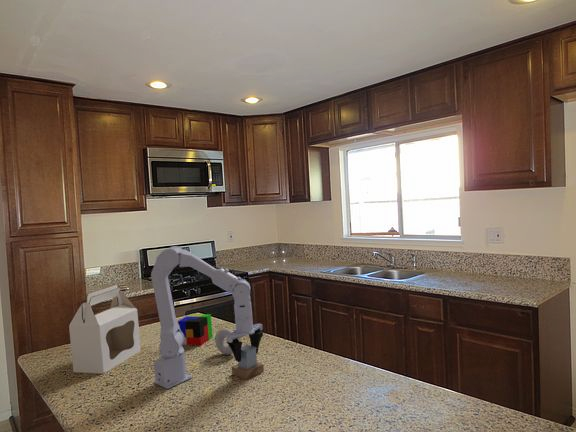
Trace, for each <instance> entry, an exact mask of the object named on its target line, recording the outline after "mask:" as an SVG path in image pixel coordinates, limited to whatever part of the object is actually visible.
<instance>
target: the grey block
mask: <svg viewBox="0 0 576 432" xmlns="http://www.w3.org/2000/svg"><path fill="white" fill-rule="evenodd" d="M256 349H257V347H254V346H251V344H244V345H242V347H241V361H240V362H238V361H237V364H238V367H241V368H244V369H247V370H248V369H250V368H252V367H254V366H256V365H257V362H258V359H257V358H258V357H257V354H256Z"/></svg>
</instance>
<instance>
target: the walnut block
mask: <svg viewBox="0 0 576 432" xmlns="http://www.w3.org/2000/svg"><path fill="white" fill-rule="evenodd" d="M264 371H265V370H264V364H263V363H261V362H259V361H257V365H256V366H254V367H252V368H250V369H248V370H247V369H244V368H241V367H238V363H236V364H235V365H232V366H231V374H232V376H233V375H234V376H235V377H238V378H240V379H243V380H245V381H247V380H250V379H252V378H254V377H256V376H258V375H259V374H261V373H264Z"/></svg>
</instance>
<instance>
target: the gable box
mask: <svg viewBox="0 0 576 432" xmlns="http://www.w3.org/2000/svg"><path fill="white" fill-rule="evenodd" d="M110 299H112V300H111V304H110V307H109V308H108V309H105V310H102V311H100V312H97V313H95V312H94V310H93V308H92V306H94V305H97V304H100V303H102V302H105V301H108V300H110ZM138 315H139V314H138V309H137V307H136V306H135V305H134V304H133V303H132V301H131V300H130V299H129V298H128V297H127V296H126V294H124V292H123V291H122V290H121V287H118V285H117V284H113V285H110V286H108V287H104V288H101V289H98V290H95V291H91V292H89V293H87V294H86V297H85V302H83V303H81V305H80V306H79V307H78V309H77V311H76V313H75V315H74V316H73V318H72V320H71V321H70V323H69V325H68V329H69V331H68V332H69V339H70V350H71V360H72V369H73V370H72V371H73V373H80V374H81V373H83V374H97V375H98V374H99V375H103V374H106V373H107V372H109V371H110V370H112V369H113V368H115V367H117V366H118V365H120V364H122V363H124V362H125V361H126V360H128V359H130V358H131V357H133V356H135V355H136V354H138V353H139V352H141V339H140V329H139V328H140V327H139V316H138Z"/></svg>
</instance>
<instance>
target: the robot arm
mask: <svg viewBox="0 0 576 432" xmlns="http://www.w3.org/2000/svg"><path fill="white" fill-rule="evenodd" d="M177 266H179V268H185V267H186V268H187V267H190V268H192V269H194V270H196V271H198V272H199V273H202V274H203V275H206V276H207V277H209V278H211V282H212V284H213V285H215V286H216V287H219V288H220V289H222V290H223V291H226V292H227V293H231V294H232V297H233V300H234V301H233V303H234V304H233V311H234V322H235V330H233V332H232V333H231V334H229V335H227V336H226V337H225V339H226V342H225V343H227V344H226V345H227V346H230V348H231V350H232V352H233V356H234V360H235V362H237V363H238V362H240V361H241V347H242V346H243V342H242V341H240V340H239V339H241V338H243V337H246V336H249V341H250V346H254V347H257V349H256V355H258V353H259V347H260V344H261V343H260V342H261V340H262V337H264V332H263V324H262V323H255V324H254V322H253V321H254V319H253V309H252V307H253V306H252V301H251V299H252V298H251V284H250V283H249V281H247V279H244V278H241V277H240V276H236V275H234V274H233V273H231V272H229V271H230V269H228V268H222V267H221V268H215V267H214V266H212V265H210V264H209V263H207V262H205V260H203V259H201V258H200V257H199V256H197V255H195V254H193V253H192V252H191V251H189V250H187V249H185V248H182V247H181V246H178V245H171V246H170V247H169V248H166V249H164V250H163V251H161V253H159V254H158V256H157V257H156V259H155V263H154V264H153V268H152V270H151V272H150V273H151V274H150V277H151V282H152V283H151V284H152V288H153V292H154V297H155V304H156V307H157V308H156V309H157V313H158V319H159V323H160V333H159V337H160V343H159V347H158V348H159V352H160V354H161V356H160V357H159V358H157V359H155V361H154V363H153V366H154V379H155V381H154V384H156V385H159V386H161V387H162V388H164V389H170V388H172V387H175V386H177V385H179V384H182V383H183V382H186V381H188V380H190V379H192V378H193V376H192V375H189V374H188V373H187V368H186V367H187V366H186V355H185V349H184V348H183V345H182V344H183V342H184V339H185V338H184V334H183V333H182V331H181V330H180V327H179V324H178V320H177V317H176V312H175V306H174V301H173V296H172V291H171V286H170V280H169V275H170V274H171V272H172V271H173V270H174V269H175V268H176V267H177Z"/></svg>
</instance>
